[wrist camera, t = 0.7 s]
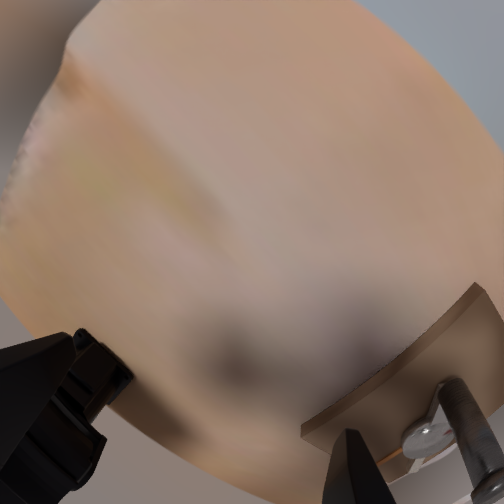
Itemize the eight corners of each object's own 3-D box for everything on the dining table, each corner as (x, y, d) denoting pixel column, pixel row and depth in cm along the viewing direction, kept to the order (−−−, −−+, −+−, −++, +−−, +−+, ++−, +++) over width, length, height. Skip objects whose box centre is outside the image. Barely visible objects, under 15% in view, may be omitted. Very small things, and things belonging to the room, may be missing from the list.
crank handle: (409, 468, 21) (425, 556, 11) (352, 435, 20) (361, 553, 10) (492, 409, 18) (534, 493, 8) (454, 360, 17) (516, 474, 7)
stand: (382, 475, 24) (384, 486, 22) (295, 428, 23) (294, 442, 21) (523, 369, 18) (531, 378, 17) (475, 281, 17) (486, 290, 16)
